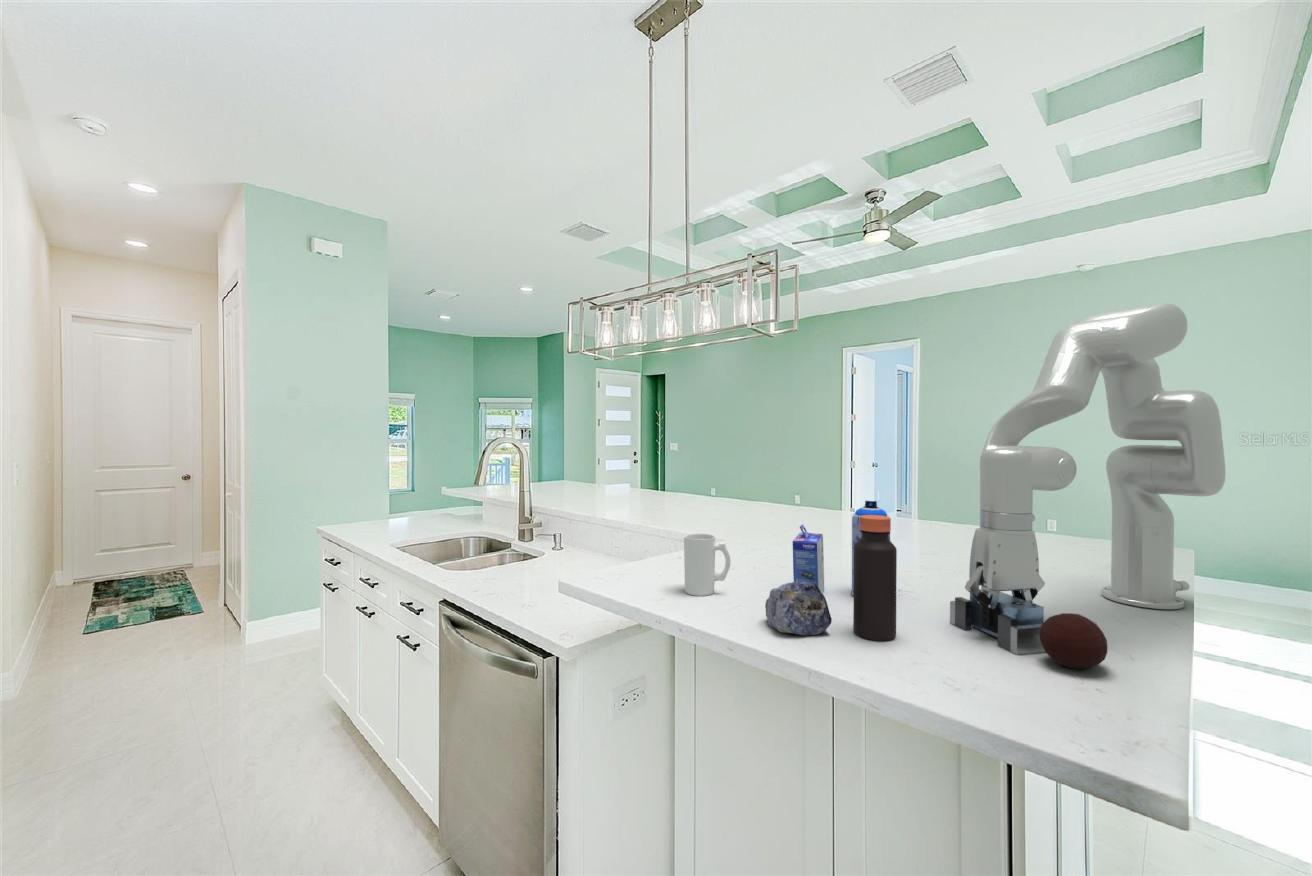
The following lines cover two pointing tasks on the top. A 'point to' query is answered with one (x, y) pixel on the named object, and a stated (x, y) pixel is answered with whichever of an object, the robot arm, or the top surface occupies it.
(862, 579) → the bottle
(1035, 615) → the lock block
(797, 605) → the rock
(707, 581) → the mug
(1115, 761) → the top surface
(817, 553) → the ink cartridge box
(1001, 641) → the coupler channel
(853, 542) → the aerosol can
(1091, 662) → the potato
